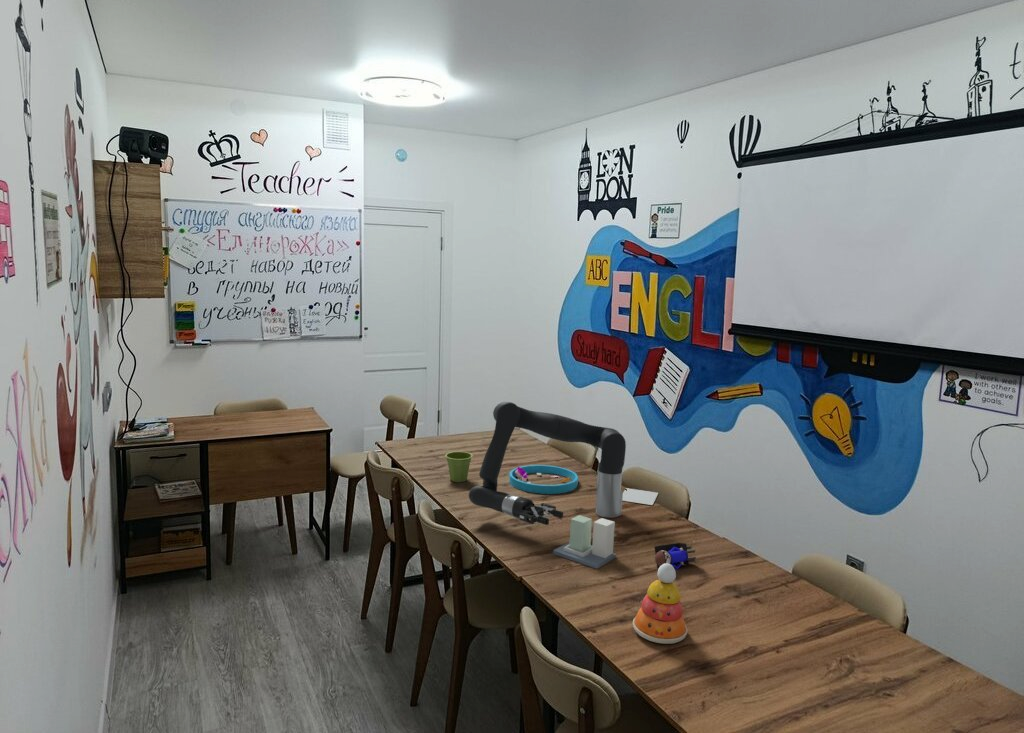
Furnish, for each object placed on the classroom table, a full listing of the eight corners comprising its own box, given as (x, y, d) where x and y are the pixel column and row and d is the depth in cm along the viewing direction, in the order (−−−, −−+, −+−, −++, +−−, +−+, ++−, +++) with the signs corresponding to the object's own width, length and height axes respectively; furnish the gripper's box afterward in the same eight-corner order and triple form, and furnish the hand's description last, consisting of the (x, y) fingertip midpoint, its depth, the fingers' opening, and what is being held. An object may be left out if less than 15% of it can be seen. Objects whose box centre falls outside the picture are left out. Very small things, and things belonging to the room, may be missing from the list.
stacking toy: (627, 640, 182) (632, 569, 179) (637, 615, 195) (642, 548, 192) (683, 652, 177) (689, 580, 174) (690, 626, 190) (695, 558, 188)
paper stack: (595, 498, 292) (595, 496, 292) (608, 481, 315) (608, 479, 315) (652, 506, 284) (652, 505, 284) (661, 488, 307) (661, 487, 307)
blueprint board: (572, 543, 243) (573, 536, 243) (615, 557, 233) (616, 550, 233) (553, 553, 234) (553, 546, 234) (597, 568, 224) (597, 561, 223)
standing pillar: (599, 549, 236) (601, 518, 234) (612, 553, 233) (614, 521, 231) (591, 553, 232) (593, 522, 230) (605, 558, 229) (607, 526, 227)
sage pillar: (577, 546, 238) (579, 515, 236) (589, 550, 235) (591, 518, 233) (569, 550, 234) (570, 519, 232) (581, 554, 231) (583, 522, 229)
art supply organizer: (514, 470, 325) (514, 458, 324) (579, 476, 321) (579, 463, 320) (504, 491, 296) (504, 478, 295) (575, 497, 292) (576, 483, 291)
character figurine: (698, 569, 228) (659, 575, 222) (685, 558, 234) (646, 564, 229) (701, 546, 226) (661, 552, 220) (688, 536, 232) (649, 542, 227)
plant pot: (444, 475, 312) (445, 451, 310) (471, 476, 314) (471, 451, 312) (444, 484, 301) (445, 458, 299) (472, 484, 302) (473, 459, 300)
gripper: (505, 501, 243) (544, 513, 233) (530, 492, 254) (567, 502, 244) (504, 522, 244) (542, 535, 234) (529, 511, 255) (566, 523, 245)
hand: (555, 518), depth 239 cm, fingers open, 8 cm apart
